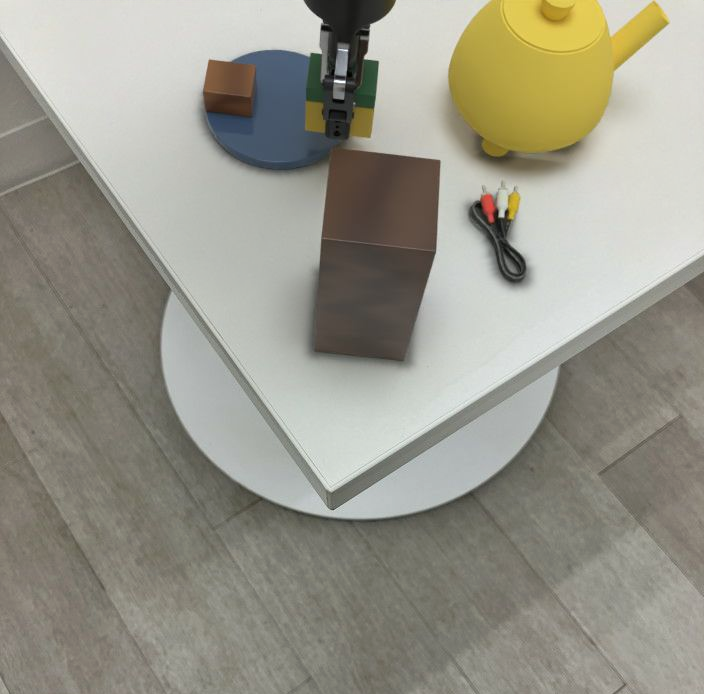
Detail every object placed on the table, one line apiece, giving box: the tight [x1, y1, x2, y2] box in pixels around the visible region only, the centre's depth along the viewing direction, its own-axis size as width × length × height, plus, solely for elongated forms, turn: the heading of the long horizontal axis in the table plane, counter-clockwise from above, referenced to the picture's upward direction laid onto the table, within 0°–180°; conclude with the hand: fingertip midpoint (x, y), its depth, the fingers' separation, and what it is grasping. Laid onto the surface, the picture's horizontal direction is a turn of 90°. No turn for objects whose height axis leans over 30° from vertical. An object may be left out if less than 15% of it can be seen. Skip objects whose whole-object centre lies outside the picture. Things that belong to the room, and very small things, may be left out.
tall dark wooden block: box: [313, 147, 442, 361], centre depth 64 cm, size 8×8×16 cm
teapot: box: [447, 0, 670, 157], centre depth 74 cm, size 20×16×14 cm
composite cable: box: [468, 180, 528, 283], centre depth 74 cm, size 10×5×2 cm, turn 4°
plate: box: [204, 49, 342, 170], centre depth 78 cm, size 14×14×1 cm
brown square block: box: [202, 58, 257, 117], centre depth 76 cm, size 4×4×2 cm
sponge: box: [305, 52, 380, 139], centre depth 71 cm, size 6×4×5 cm, turn 85°
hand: (339, 115), depth 73 cm, fingers closed on sponge, 4 cm apart
